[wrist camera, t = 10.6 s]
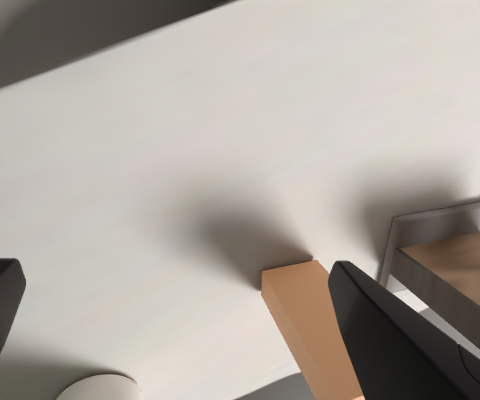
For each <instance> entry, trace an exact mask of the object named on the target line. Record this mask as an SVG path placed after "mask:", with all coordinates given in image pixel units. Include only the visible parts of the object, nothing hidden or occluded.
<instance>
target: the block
mask: <svg viewBox="0 0 480 400" xmlns="http://www.w3.org/2000/svg"><path fill="white" fill-rule="evenodd" d="M329 275H330V274H329V273H328V272H327V271H326V269H325V268H324V267H323V266H322V265H321V264H320V263H319V262H318V261H317V260H314V261H309V262H304V263H299V264H294V265H289V266H284V267H280V268H275V269H270V270H265V271H262V286H261V296H262V297H263V299H264V301H265V303H266V305H267V307H268V309H269V311H270V313H271V315H272V317H273V318H274V320H275V322H276V324H277V326H278V328H279V330H280V332H281V334H282V336H283V338H284V339H285V341H286V343H287V345H288V347H289V349H290V351H291V353H292V355H293V357H294V359H295V360H296V362H297V364H298V366H299V368H300V370H301V372H302V374H303V376H304V378H305V379H306V381H307V383H308V385H309V387H310V389H311V391H312V393H313V394H314V397H315V399H316V400H365V398H364V396H363V393H362V390H361V388H360V385H359V382H358V380H357V377H356V374H355V371H354V369H353V366H352V363H351V361H350V358H349V355H348V353H347V350H346V347H345V345H344V342H343V339H342V336H341V333H340V330H339V327H338V323H337V319H336V315H335V312H334V308H333V304H332V300H331V296H330V292H329V288H328V278H329Z"/></svg>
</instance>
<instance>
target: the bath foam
mask: <svg viewBox="0 0 480 400" xmlns="http://www.w3.org/2000/svg"><path fill="white" fill-rule="evenodd" d="M56 400H143V395H142V391H141V389H140V387H139V386H138V385H137V384H136V383H135V382H134V381H132V380H131V379H129V378H127V377H124V376H120V375H114V374H103V375H96V376H91V377H88V378H85V379H82V380H80V381H78V382H76V383H74V384H72V385H71V386H69V387H68V388H66V389H65V390H64V391H63V392H62V393H61V394H60V395H59V396H58V398H57V399H56Z"/></svg>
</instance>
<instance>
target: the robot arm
mask: <svg viewBox="0 0 480 400" xmlns="http://www.w3.org/2000/svg"><path fill="white" fill-rule="evenodd" d="M25 287H26V279H25V276H24V273H23V270H22V267H21V264H20V262H19V260H18V259H15V258H0V353H1V351H2V349H3V347H4V344H5V342H6V339H7V337H8V334H9V332H10V329H11V326H12V324H13V321H14V318H15V315H16V313H17V310H18V307H19V304H20V302H21V299H22V296H23V293H24V291H25ZM328 288H329V292H330V296H331V300H332V304H333V308H334V312H335V315H336V319H337V323H338V327H339V330H340V333H341V336H342V339H343V342H344V345H345V347H346V350H347V353H348V355H349V358H350V361H351V363H352V366H353V369H354V371H355V374H356V377H357V380H358V382H359V385H360V388H361V390H362V393H363V396H364V398H365V400H480V359H479V358H477V357H476V356H474V355H473V354H472V353H471V352H469V351H468V350H467V349H465V348H464V347H463V346H461V345H460V344H457V342H456V341H455V340H453V339H452V338H450V337H449V336H448V335H447V334H445V333H444V332H443V331H441V330H440V329H439V328H437V327H436V326H435V325H433V324H432V323H431V322H429V321H428V320H427V319H425V318H424V317H423V316H421V315H420V314H419V313H417V312H416V311H415V310H413V309H412V308H411V307H410V306H408V305H407V304H406V303H404V302H403V301H402V300H400V299H399V298H398V297H396V296H395V295H394V294H392V293H391V292H390V291H388V290H387V289H386V288H384V287H383V286H382V285H380V284H379V283H378V282H376V281H375V280H374V279H372V278H371V277H370V276H368V275H367V274H366V273H365V272H363V271H362V270H361V269H359V268H358V267H357V266H355V265H354V264H353V263H351V262H350V261H336V262H335V263H334V265H333V268H332V270H331V273H330V275H329V278H328Z"/></svg>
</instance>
